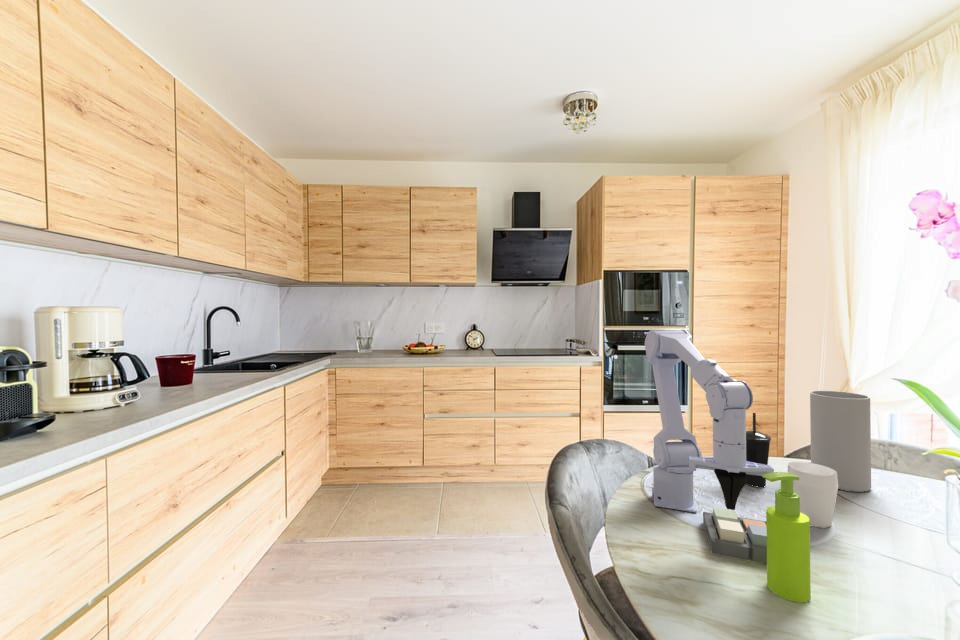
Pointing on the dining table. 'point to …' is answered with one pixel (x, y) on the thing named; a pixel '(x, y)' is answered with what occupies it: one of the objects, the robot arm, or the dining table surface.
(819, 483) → the cup
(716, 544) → the grey divided tray
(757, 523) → the terracotta key
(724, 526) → the ivory key
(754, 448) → the drinking cup
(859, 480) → the cylinder vase
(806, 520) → the soap dispenser
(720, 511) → the sage key
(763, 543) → the slate key
